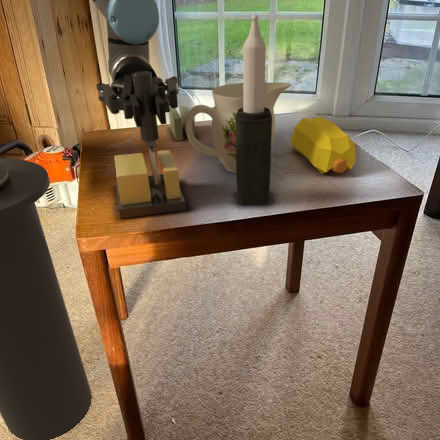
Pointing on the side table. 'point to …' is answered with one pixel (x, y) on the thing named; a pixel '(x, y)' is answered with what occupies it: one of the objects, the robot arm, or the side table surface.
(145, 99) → the knife
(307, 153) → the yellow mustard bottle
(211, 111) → the pitcher
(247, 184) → the candle
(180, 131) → the knife stand
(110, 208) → the side table surface
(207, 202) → the side table surface
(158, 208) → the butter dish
